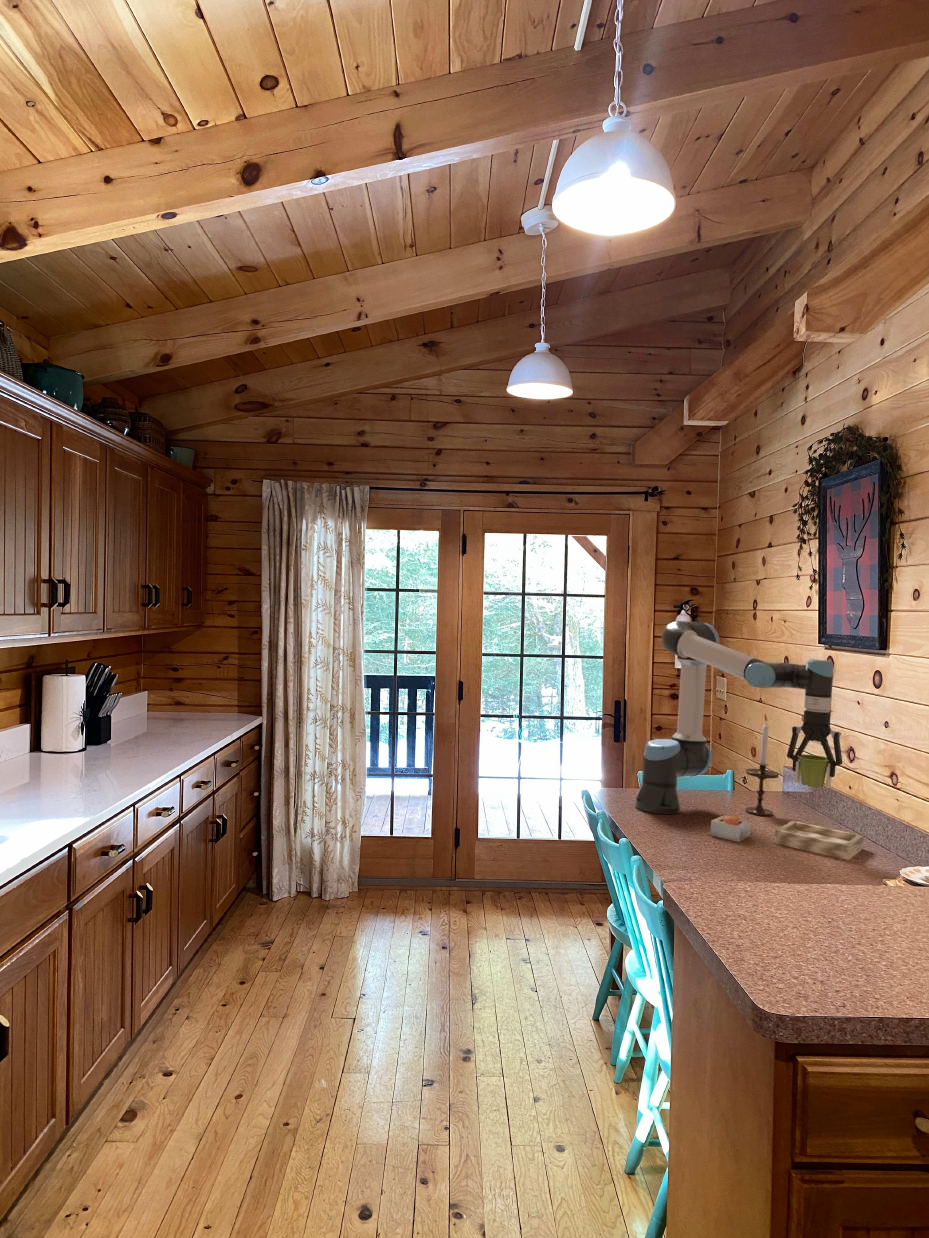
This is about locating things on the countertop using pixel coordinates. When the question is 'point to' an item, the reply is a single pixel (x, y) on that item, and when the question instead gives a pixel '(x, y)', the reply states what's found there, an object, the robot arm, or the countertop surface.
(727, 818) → the button
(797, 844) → the tray
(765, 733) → the candlestick
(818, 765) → the plant pot
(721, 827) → the button housing
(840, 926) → the countertop surface
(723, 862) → the countertop surface
